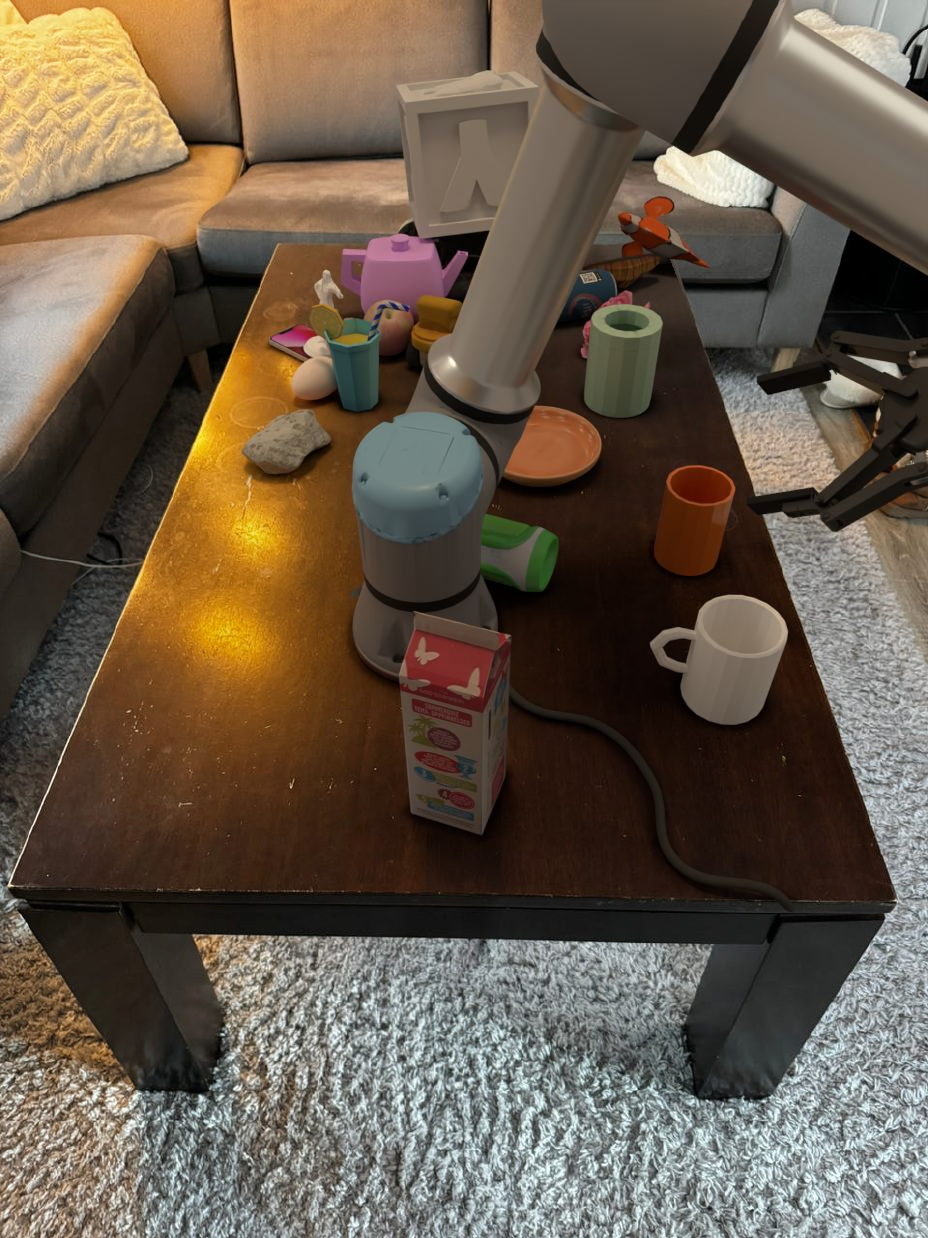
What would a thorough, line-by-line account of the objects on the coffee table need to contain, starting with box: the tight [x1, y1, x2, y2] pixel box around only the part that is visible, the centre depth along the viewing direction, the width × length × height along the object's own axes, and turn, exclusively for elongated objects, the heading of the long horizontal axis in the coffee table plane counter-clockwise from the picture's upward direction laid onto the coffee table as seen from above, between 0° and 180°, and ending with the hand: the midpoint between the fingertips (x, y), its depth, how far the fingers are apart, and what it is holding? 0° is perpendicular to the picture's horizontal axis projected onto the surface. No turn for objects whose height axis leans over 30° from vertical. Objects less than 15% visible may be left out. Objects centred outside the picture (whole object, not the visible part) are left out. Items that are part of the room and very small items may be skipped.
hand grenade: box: [445, 276, 472, 304], centre depth 146 cm, size 4×4×10 cm
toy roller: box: [405, 295, 463, 369], centre depth 132 cm, size 9×14×10 cm, turn 153°
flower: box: [580, 290, 652, 360], centre depth 134 cm, size 11×10×10 cm
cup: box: [307, 301, 410, 413], centre depth 122 cm, size 14×8×15 cm, turn 86°
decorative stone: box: [241, 408, 332, 475], centre depth 117 cm, size 12×11×5 cm
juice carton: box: [398, 611, 512, 836], centre depth 73 cm, size 7×7×22 cm
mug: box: [649, 594, 789, 726], centre depth 86 cm, size 8×12×10 cm
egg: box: [290, 356, 338, 401], centre depth 127 cm, size 6×6×8 cm
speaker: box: [481, 513, 560, 593], centre depth 100 cm, size 18×7×8 cm
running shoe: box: [397, 217, 490, 268], centre depth 156 cm, size 11×29×12 cm
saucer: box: [501, 405, 603, 488], centre depth 116 cm, size 16×16×3 cm
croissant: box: [582, 253, 661, 290], centre depth 150 cm, size 14×7×5 cm
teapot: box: [339, 233, 468, 326], centre depth 141 cm, size 20×12×13 cm, turn 90°
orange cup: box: [653, 464, 736, 577], centre depth 100 cm, size 7×7×10 cm
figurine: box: [303, 269, 344, 359], centre depth 131 cm, size 7×7×12 cm
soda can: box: [557, 269, 618, 323], centre depth 142 cm, size 7×7×12 cm
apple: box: [363, 300, 415, 357], centre depth 135 cm, size 8×8×8 cm
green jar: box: [583, 304, 664, 419], centre depth 123 cm, size 9×9×12 cm
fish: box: [617, 195, 711, 269], centre depth 156 cm, size 20×12×15 cm
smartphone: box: [268, 323, 319, 363], centre depth 137 cm, size 7×1×15 cm
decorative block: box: [395, 70, 540, 239], centre depth 140 cm, size 19×19×20 cm
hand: (757, 445), depth 91 cm, fingers open, 13 cm apart
